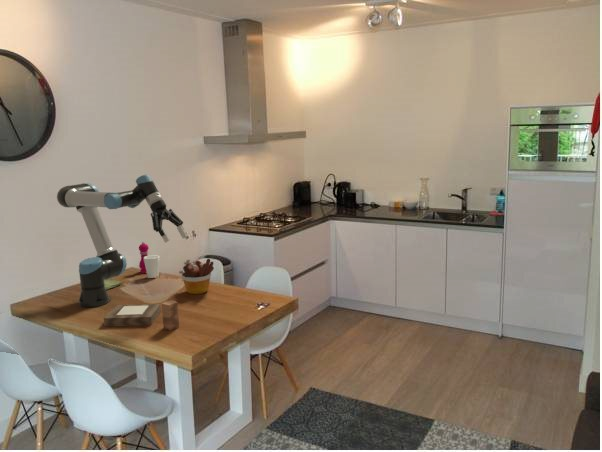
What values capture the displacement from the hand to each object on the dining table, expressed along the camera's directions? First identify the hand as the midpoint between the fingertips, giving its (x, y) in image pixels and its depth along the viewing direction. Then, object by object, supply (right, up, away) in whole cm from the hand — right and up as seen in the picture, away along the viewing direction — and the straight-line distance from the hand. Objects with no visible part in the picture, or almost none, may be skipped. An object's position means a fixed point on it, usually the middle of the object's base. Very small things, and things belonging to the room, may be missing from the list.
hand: (176, 239), depth 263 cm
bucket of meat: (+5, -30, +33) cm, 45 cm away
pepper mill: (-37, -23, +75) cm, 87 cm away
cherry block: (+2, -40, -20) cm, 45 cm away
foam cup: (-29, -25, +62) cm, 73 cm away
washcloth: (-54, -29, +47) cm, 77 cm away
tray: (-19, -38, -7) cm, 43 cm away
